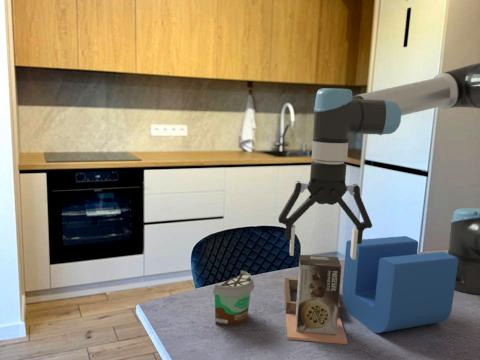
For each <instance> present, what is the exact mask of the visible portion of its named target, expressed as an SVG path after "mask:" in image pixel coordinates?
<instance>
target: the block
mask: <svg viewBox="0 0 480 360" xmlns="http://www.w3.org/2000/svg"><path fill="white" fill-rule="evenodd" d="M418 249H419V242H418V240H416V239H414V238H412V237H409V236H407V235H402V236H388V237H379V238H366V239H363V238H362V243H361V244H357V250H356V260H355V259H352V258H351V256H350V251H351V240H347V241H346V244H345V253H344V254H345V255H344V266H343V276H342V277H343V278H342V299H343V302H344V305H345V308H346V309H347V311H348V313H349V314H350V315H351V316H352V317H353V318H354V319H355V320H356V321H358V322H359V323H360V324H362V325H363V326H364V327H366V328H367V329H368V330H370V331H371V332H373V333H376V334H381V333H385V332H392V331H397V330H402V329H409V328H415V327H421V326H427V325H432V324H437V323H442V322H444V321H446V320H447V319H448V318H449V317H450V316H451V313H452V309H453V303H454V302H453V301H454V295H455V289H454V288H455V281H456V274H457V267H458V258H457V257H455V256H452V255H450V254H448V252H445V251H436V252H429V253H428V252H426V253H418Z"/></svg>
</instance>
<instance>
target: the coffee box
mask: <svg viewBox="0 0 480 360" xmlns="http://www.w3.org/2000/svg"><path fill="white" fill-rule="evenodd" d="M298 260H299V261H298V262H299V263H298V276H297V279H298V288H297V290H296V291H297V292H296V302H297V304H296V318H295V320H296V331H297V332H309V333H323V334H336V332H337V319H338V305H339V304H340V291H341V290H340V289H341V277H342V265H341V261H340V259H339V256H325V255H324V256H323V255H321V256H320V255H308V254H299V259H298Z"/></svg>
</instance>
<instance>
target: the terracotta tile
mask: <svg viewBox="0 0 480 360" xmlns="http://www.w3.org/2000/svg"><path fill="white" fill-rule="evenodd" d="M295 318H296V315H295V314H286V313H285V322H286V324H285V325H286V337H287V338H286V339H287V340H291V341H303V342H304V341H306V342H315V343H332V344H339V345H342V344H343V345H348V342H349V341H348V339H347V335H346V332H345V328H344V326H343V323H342V320H341V317H340V318H338V319H337V332H336V334H323V333H309V332H297V331H296V320H295Z"/></svg>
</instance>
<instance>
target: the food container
mask: <svg viewBox="0 0 480 360" xmlns="http://www.w3.org/2000/svg"><path fill="white" fill-rule="evenodd" d="M254 288H255V284H254V279H253V276H252V275H251V274H250V273H248V272H247V271H244V270H242V269H241V270H240V274H238V275H236V276H235V277H232V278H231V277H230V278H229V279H228V280H226V281H224V282H223V283H222V284H220V285H219V284H214V287H213V291H212V294H213V295H214V316H215V317H214V319H215V320H214V322H215V325H217V326H222V327H236V326H240V325H243V324H244V323H246V322H247V320H248V315H249V307H250V300H251V293H252V291H253V290H254Z"/></svg>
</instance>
